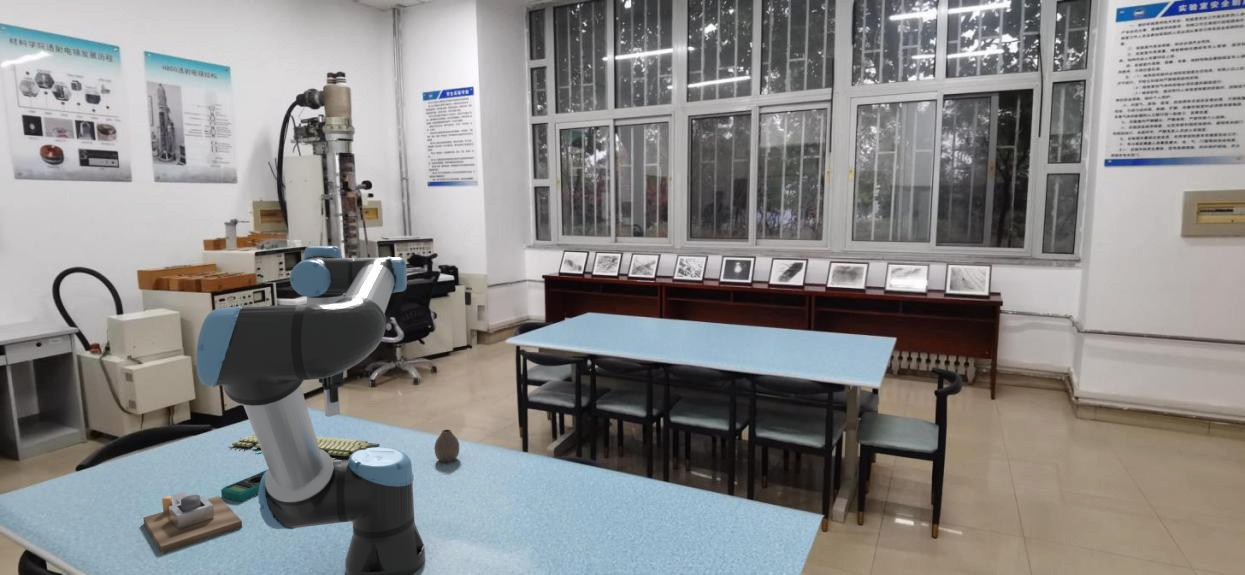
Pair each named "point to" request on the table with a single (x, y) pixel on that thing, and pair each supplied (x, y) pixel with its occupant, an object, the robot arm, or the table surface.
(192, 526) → the board
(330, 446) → the keyboard
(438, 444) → the vase
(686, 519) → the table surface
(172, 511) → the grey frame piece
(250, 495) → the digital multimeter
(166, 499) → the dowel pin
